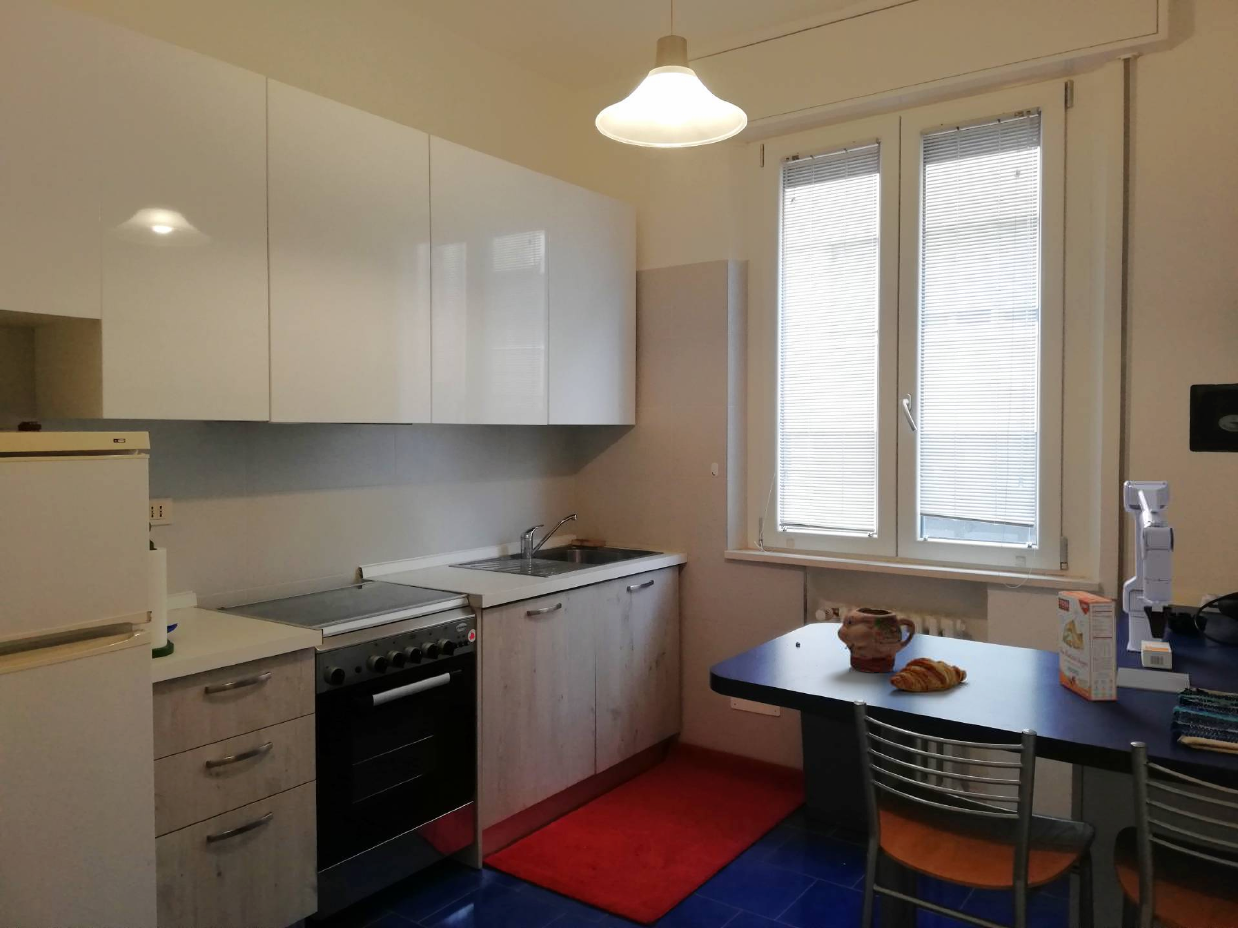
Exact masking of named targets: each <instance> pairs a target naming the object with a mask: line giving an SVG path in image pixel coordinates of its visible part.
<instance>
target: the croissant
mask: <svg viewBox="0 0 1238 928" xmlns="http://www.w3.org/2000/svg"><path fill="white" fill-rule="evenodd" d="M967 675H968V673H967V670H965V669H961V668H959V666H956V665H950V664H948V663H947V662H945V661H943V660H937V661H935V660H934V659H932V658H930V657H929V658H928V657H917V658H913V659H911V660H909V661H908V662H907V663H906V664H905V666H904V667H903V668H901V669H900V670H899V671H898V672H897V673H895V674H894V675H893V677H891V678H889V683H890V684H891V686H893V687H895V688H897V689H898V690H904V691H907V692H908V691H909V692H914V693H919V692H928V693H929V692H937V691H944V690H948V689H950V688H951V687H954V686H956V685H958V684H959V683H962V682H963V681H965V680H967V679H966V678H967Z"/></svg>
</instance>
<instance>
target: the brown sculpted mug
mask: <svg viewBox="0 0 1238 928" xmlns="http://www.w3.org/2000/svg"><path fill="white" fill-rule="evenodd" d="M902 626H906V627H908V630H909V634H908V636H907V637H906V639H905V640H903V632H902V631H903V630H902ZM915 634H916V624H915V623H914V621H913V620H912V619H910V618H908V617H906V616H899V617H898V616H897V613H895V612H893V611H891V610H886V609H881V608H880V609H879V608H871V607H862V608H861V607H859V608H858V609H854V610H851V611H850V612H848V613H846V615H844V618H843V620H842V624H841V626H840V628H839V629H838V630H837V637H838V638H839V640H840V641H841V642H842V643H843V644H844V645H846V647H847V649H848V650H849V663H850V667H852V668H853V669H855V670H857V669H858V670H857V671H860V670H862V671H861V672H865V671H867V672H866V673H874V672H879V673H888V672H887V671H889V672H891V671H893V670H894V668H895V665H896V664H895V663H896V655H897V654H898V653H900V651H902V650H903V649H904V648H905V649H906V647H907V646H908V645H909V644H910V643H911V642H912V641H911V640H913V638H914V635H915ZM890 670H891V671H890Z"/></svg>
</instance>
